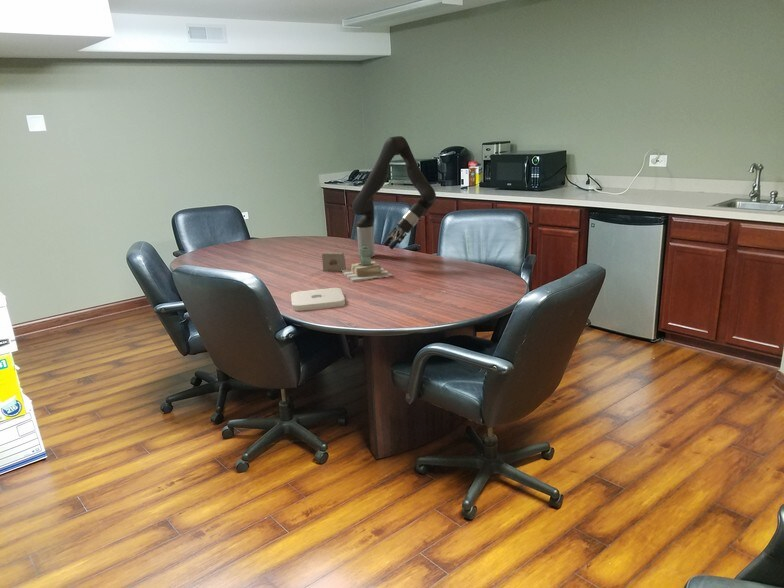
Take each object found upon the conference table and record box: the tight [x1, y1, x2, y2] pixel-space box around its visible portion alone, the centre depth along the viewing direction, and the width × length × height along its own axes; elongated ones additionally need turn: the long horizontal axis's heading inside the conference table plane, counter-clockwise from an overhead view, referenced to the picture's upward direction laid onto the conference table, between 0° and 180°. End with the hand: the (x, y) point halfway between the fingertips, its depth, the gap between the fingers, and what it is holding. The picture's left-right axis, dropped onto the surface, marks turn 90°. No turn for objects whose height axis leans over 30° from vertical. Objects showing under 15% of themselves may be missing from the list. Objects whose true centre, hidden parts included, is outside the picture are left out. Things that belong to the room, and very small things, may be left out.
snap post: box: [358, 246, 372, 266], centre depth 287 cm, size 4×4×9 cm
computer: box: [290, 287, 346, 312], centre depth 249 cm, size 22×22×3 cm
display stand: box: [341, 260, 393, 283], centre depth 289 cm, size 22×20×5 cm
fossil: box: [321, 251, 347, 272], centre depth 300 cm, size 12×4×10 cm, turn 70°
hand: (387, 246), depth 290 cm, fingers open, 8 cm apart
